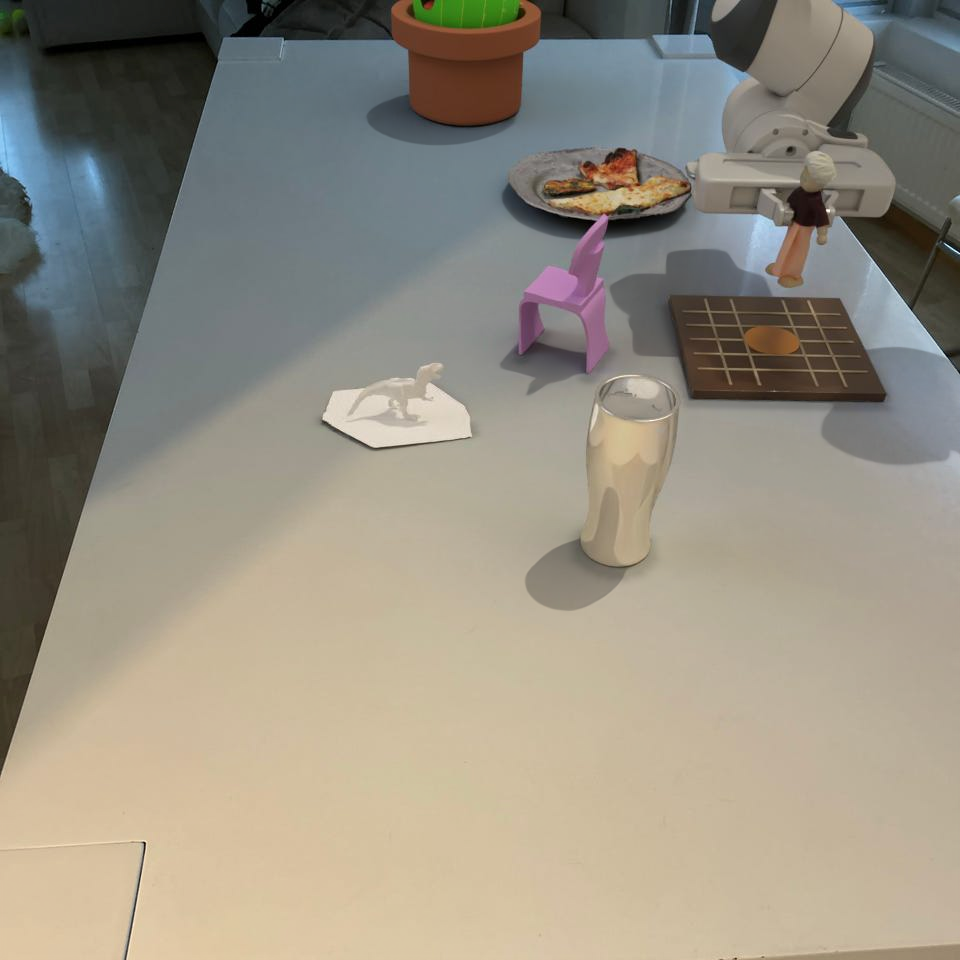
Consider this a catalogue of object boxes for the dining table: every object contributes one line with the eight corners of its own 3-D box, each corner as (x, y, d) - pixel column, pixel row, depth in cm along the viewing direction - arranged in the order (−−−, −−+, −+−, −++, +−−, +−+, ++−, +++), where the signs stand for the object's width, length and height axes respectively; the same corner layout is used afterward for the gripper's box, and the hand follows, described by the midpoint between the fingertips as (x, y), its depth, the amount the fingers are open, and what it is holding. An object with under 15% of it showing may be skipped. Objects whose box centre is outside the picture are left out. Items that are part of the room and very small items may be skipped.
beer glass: (601, 508, 89) (621, 362, 78) (668, 538, 86) (699, 391, 75) (560, 549, 85) (574, 401, 74) (629, 582, 83) (655, 434, 72)
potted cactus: (470, 74, 168) (472, -106, 150) (562, 110, 157) (576, -80, 139) (369, 103, 158) (357, -87, 139) (459, 144, 147) (460, -56, 128)
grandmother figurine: (748, 267, 104) (779, 141, 94) (776, 260, 105) (809, 135, 96) (797, 300, 99) (834, 172, 90) (825, 292, 100) (865, 165, 91)
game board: (837, 305, 115) (840, 296, 115) (883, 401, 102) (887, 392, 101) (668, 302, 115) (669, 293, 114) (691, 398, 102) (693, 388, 101)
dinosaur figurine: (319, 464, 97) (303, 413, 92) (341, 384, 104) (327, 333, 99) (469, 463, 95) (461, 411, 90) (481, 381, 102) (474, 328, 97)
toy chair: (541, 323, 111) (550, 189, 100) (613, 342, 109) (630, 206, 98) (510, 357, 106) (516, 220, 95) (585, 378, 104) (600, 239, 93)
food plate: (645, 155, 145) (649, 129, 143) (719, 221, 130) (725, 194, 128) (486, 173, 140) (486, 147, 137) (544, 245, 125) (546, 218, 122)
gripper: (688, 129, 104) (707, 185, 94) (880, 134, 104) (918, 189, 95) (678, 190, 108) (695, 248, 99) (862, 194, 109) (896, 253, 99)
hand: (806, 219), depth 97 cm, fingers closed on grandmother figurine, 3 cm apart
